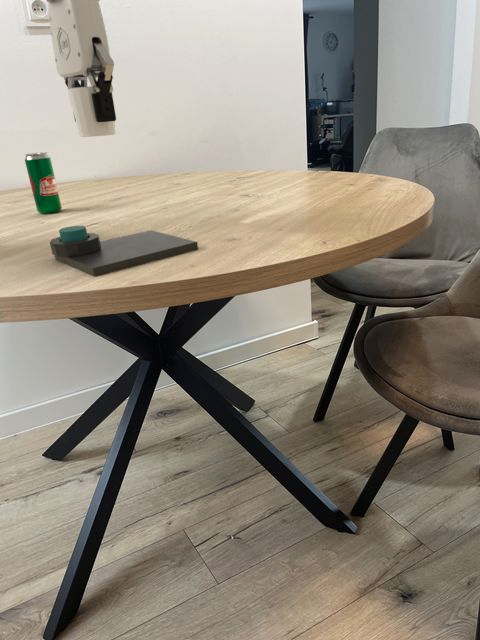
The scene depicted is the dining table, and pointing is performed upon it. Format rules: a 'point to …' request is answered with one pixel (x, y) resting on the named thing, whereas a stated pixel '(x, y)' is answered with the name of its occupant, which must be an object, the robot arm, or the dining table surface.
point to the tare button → (73, 233)
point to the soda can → (43, 182)
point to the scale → (118, 251)
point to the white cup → (88, 114)
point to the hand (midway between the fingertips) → (95, 121)
